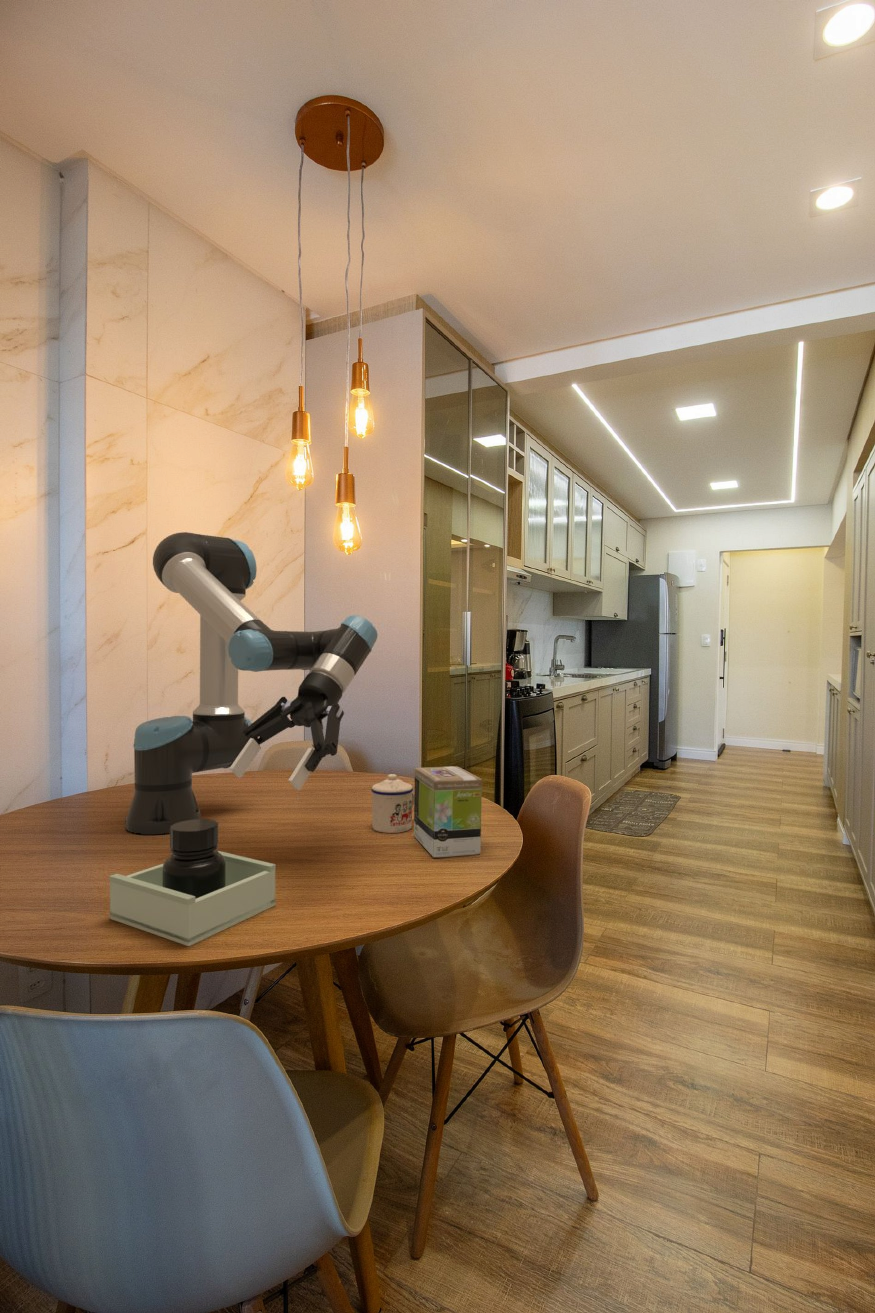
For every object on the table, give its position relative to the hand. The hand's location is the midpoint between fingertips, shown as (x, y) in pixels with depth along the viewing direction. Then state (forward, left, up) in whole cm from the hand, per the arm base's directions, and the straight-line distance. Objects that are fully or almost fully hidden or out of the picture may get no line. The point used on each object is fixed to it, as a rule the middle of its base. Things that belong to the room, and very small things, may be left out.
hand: (263, 779), depth 110 cm
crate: (0, -14, -18) cm, 22 cm away
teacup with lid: (0, +40, -18) cm, 44 cm away
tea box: (+16, +34, -18) cm, 42 cm away
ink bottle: (-1, -13, -17) cm, 22 cm away
